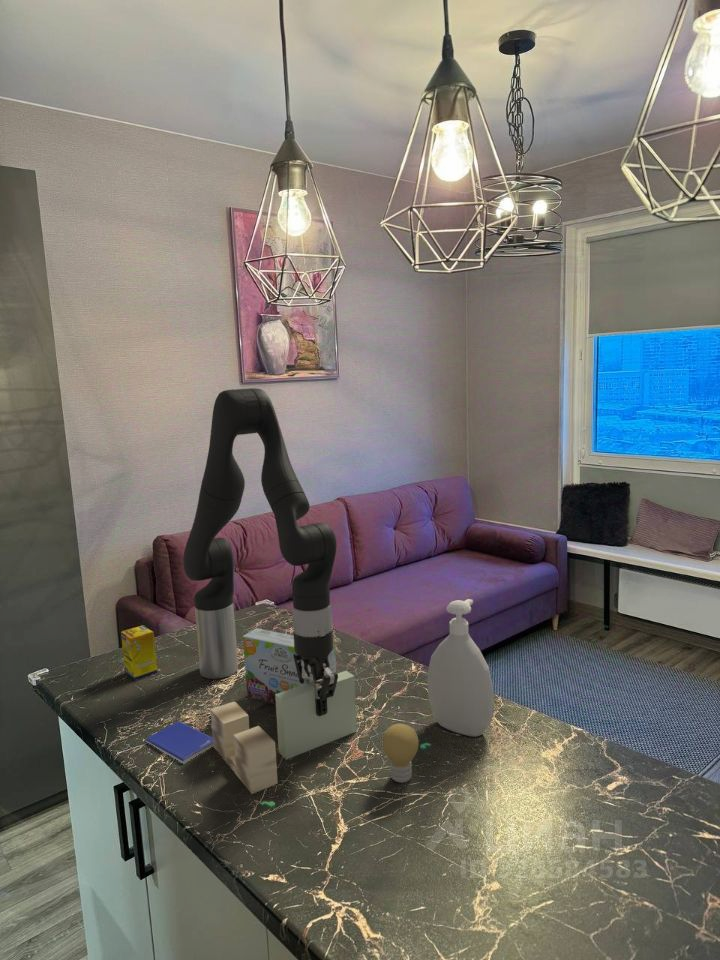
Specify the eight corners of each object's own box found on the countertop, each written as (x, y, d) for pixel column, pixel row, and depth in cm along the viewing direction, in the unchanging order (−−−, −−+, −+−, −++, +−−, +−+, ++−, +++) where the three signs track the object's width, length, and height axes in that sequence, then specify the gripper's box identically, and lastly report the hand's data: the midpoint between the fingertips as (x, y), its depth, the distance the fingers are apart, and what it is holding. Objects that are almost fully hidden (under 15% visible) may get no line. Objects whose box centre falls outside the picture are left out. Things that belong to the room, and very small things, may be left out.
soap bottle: (503, 728, 131) (503, 600, 126) (485, 747, 124) (484, 613, 120) (441, 708, 140) (438, 587, 135) (420, 725, 133) (417, 599, 129)
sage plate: (278, 752, 125) (275, 694, 123) (348, 725, 134) (346, 670, 132) (286, 759, 123) (282, 700, 121) (356, 731, 132) (354, 676, 130)
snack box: (245, 699, 147) (240, 635, 144) (260, 687, 152) (256, 626, 149) (326, 719, 137) (323, 651, 134) (339, 706, 142) (336, 641, 139)
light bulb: (425, 773, 117) (424, 722, 116) (409, 793, 112) (408, 740, 110) (393, 763, 120) (392, 713, 119) (376, 783, 115) (375, 731, 113)
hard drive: (217, 739, 129) (180, 720, 137) (183, 759, 123) (145, 738, 130) (218, 746, 129) (180, 727, 137) (183, 766, 123) (146, 745, 131)
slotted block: (213, 746, 128) (210, 709, 127) (237, 738, 131) (234, 701, 129) (251, 794, 113) (248, 752, 112) (277, 783, 116) (275, 742, 115)
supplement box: (124, 673, 162) (120, 631, 160) (147, 665, 166) (143, 624, 164) (134, 681, 157) (130, 638, 155) (157, 672, 161) (153, 630, 159)
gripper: (278, 621, 128) (283, 702, 131) (314, 644, 117) (318, 733, 120) (311, 612, 132) (315, 691, 135) (349, 633, 121) (352, 719, 124)
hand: (317, 710), depth 127 cm, fingers closed on sage plate, 3 cm apart
